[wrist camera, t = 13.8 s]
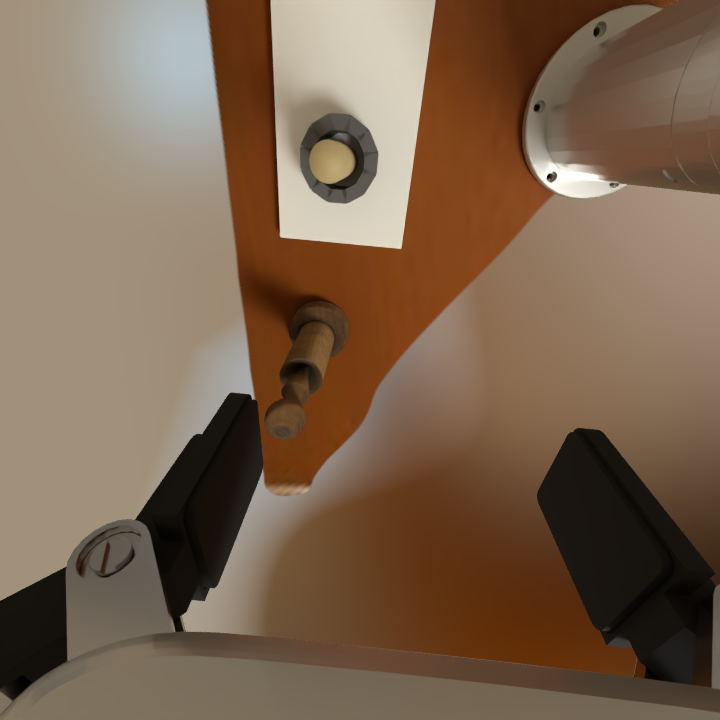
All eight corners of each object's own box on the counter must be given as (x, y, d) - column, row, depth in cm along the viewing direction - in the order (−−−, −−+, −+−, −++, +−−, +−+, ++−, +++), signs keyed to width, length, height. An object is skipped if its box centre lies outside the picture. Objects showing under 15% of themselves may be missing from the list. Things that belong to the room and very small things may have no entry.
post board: (451, -130, 22) (505, -359, 12) (400, 245, 35) (406, 280, 25) (270, -145, 22) (181, -382, 13) (284, 234, 35) (244, 264, 25)
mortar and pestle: (338, 293, 38) (306, 387, 22) (356, 343, 41) (338, 455, 25) (284, 308, 39) (218, 406, 24) (305, 355, 42) (259, 469, 27)
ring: (381, 121, 28) (380, 117, 25) (374, 200, 31) (373, 206, 28) (309, 116, 28) (299, 110, 25) (310, 195, 31) (300, 200, 28)
